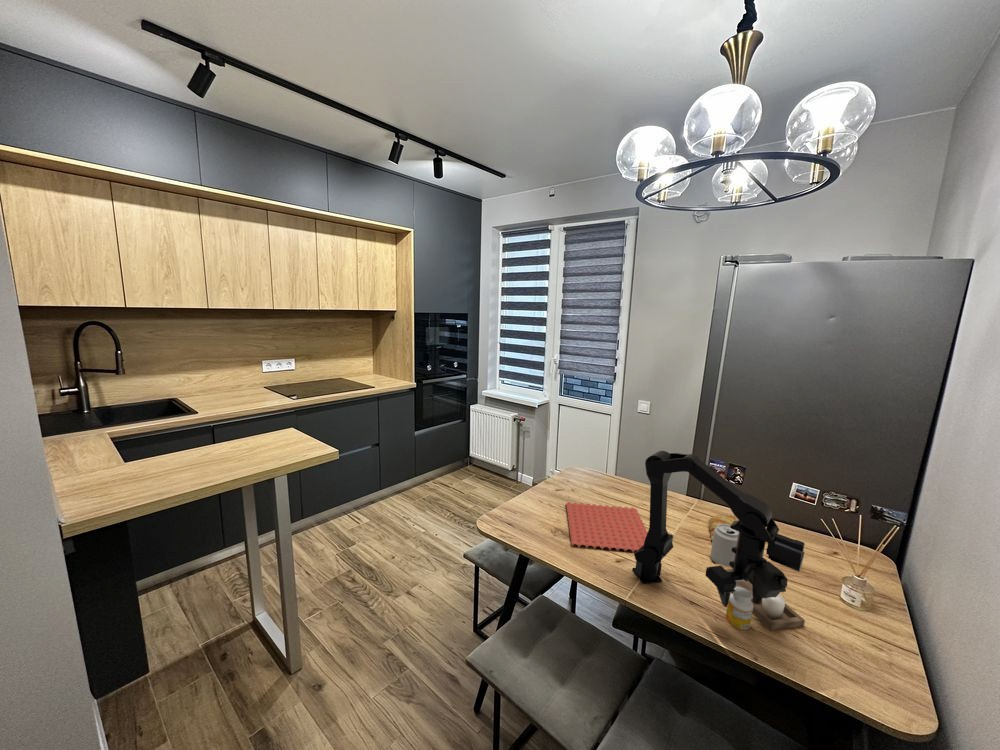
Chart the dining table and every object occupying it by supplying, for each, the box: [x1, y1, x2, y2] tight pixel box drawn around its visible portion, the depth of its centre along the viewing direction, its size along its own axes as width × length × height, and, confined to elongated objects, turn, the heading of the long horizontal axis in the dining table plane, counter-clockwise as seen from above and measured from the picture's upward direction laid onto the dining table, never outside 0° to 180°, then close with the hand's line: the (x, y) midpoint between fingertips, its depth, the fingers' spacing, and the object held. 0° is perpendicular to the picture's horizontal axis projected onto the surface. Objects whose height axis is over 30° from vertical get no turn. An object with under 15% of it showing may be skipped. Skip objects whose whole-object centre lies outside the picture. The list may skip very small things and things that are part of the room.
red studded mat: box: [565, 501, 648, 554], centre depth 142 cm, size 28×28×2 cm
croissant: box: [707, 514, 738, 542], centre depth 141 cm, size 21×10×8 cm, turn 135°
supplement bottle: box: [725, 587, 753, 630], centre depth 99 cm, size 5×5×10 cm
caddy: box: [725, 568, 806, 632], centre depth 108 cm, size 10×20×3 cm, turn 10°
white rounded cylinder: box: [760, 593, 786, 620], centre depth 102 cm, size 5×5×5 cm
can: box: [709, 524, 739, 567], centre depth 124 cm, size 8×8×12 cm
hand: (740, 604), depth 99 cm, fingers open, 9 cm apart
